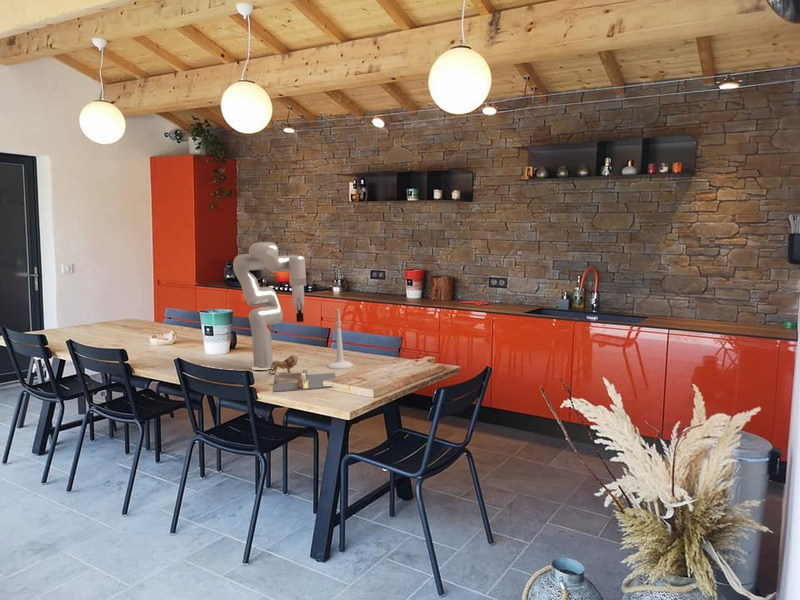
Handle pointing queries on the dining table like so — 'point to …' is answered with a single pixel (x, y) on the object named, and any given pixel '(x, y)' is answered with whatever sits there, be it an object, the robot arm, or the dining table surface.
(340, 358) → the candlestick
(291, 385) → the board
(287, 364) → the lion figurine
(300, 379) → the fence gate
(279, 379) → the fence fixed
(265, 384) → the dining table surface
